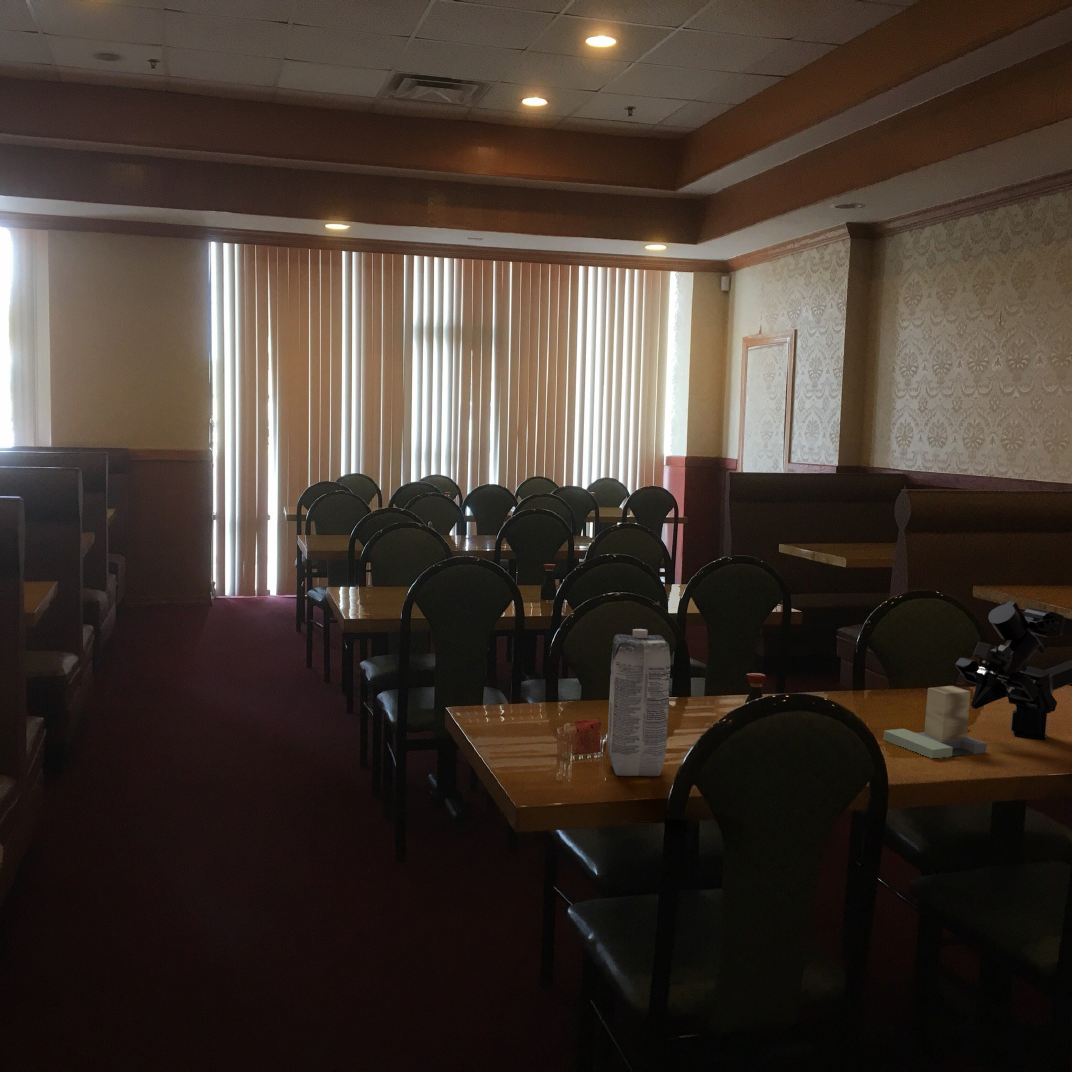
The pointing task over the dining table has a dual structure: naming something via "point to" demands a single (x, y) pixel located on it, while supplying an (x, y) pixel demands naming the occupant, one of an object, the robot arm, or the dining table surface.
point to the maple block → (947, 712)
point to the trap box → (934, 744)
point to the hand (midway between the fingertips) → (973, 707)
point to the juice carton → (638, 704)
